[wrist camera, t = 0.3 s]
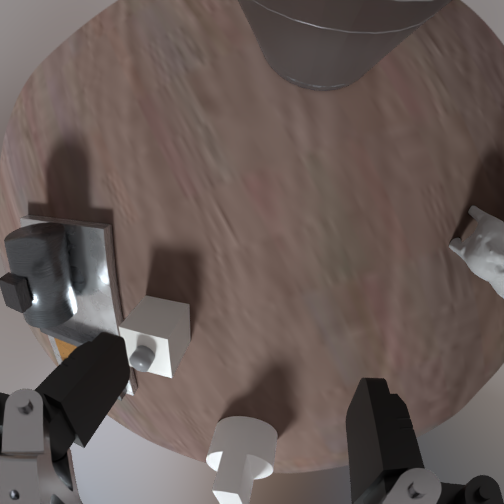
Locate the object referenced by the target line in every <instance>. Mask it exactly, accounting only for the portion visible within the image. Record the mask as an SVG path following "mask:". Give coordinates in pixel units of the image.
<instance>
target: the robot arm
mask: <svg viewBox="0 0 504 504" xmlns="http://www.w3.org/2000/svg"><path fill="white" fill-rule="evenodd" d="M451 1H452V0H238V2H239V4H240V6H241V8H242V10H243V12H244V14H245V16H246V18H247V20H248V22H249V24H250V26H251V28H252V30H253V32H254V35H255V37H256V39H257V41H258V43H259V46H260V48H261V50H262V52H263V54H264V57H265V59H266V60H267V62H268V63H269V65H270V66H271V68H272V69H273V70H274V71H275V72H277V73H278V74H279V75H280V76H281V77H282V78H284V79H286V80H287V81H289V82H290V83H292V84H295V85H297V86H299V87H302V88H306V89H311V90H319V91H329V90H336V89H340V88H343V87H346V86H349V85H350V84H352V83H354V82H355V81H357V80H358V79H360V78H361V77H362V76H363V75H364V74H365V73H366V72H367V71H369V70H370V69H371V68H372V67H373V66H375V65H376V64H377V63H378V62H379V61H380V60H381V59H382V58H384V57H385V56H386V55H387V54H388V53H389V52H390V51H392V50H393V49H394V48H395V47H396V46H397V45H399V44H400V43H401V42H402V41H403V40H405V39H406V38H407V37H408V36H409V35H410V34H412V33H413V32H414V31H415V30H416V29H418V28H419V27H420V26H421V25H423V24H424V23H425V22H426V21H427V20H429V19H430V18H431V17H432V16H434V14H436V13H437V12H438V11H439V10H441V9H442V8H443V7H444V6H446V5H447V4H448V3H450V2H451ZM129 378H130V366H129V361H128V356H127V350H126V344H125V340H124V338H123V337H121V336H118V335H114V334H111V333H107V332H101V333H100V334H99V335H98V336H97V337H96V338H95V339H94V340H93V341H92V342H90V341H88V342H86V343H84V344H82V345H80V346H78V347H76V348H75V349H74V350H73V351H72V352H71V353H70V354H69V355H68V358H67V357H66V358H65V359H64V361H63V362H62V363H61V365H59V366H58V367H57V368H56V369H55V370H54V371H53V372H52V373H51V374H50V375H49V376H48V377H47V378H46V379H45V380H44V381H43V382H42V383H41V384H40V385H39V386H38V387H37V388H36V389H35V390H31V389H20V390H17V391H15V392H14V393H12V394H11V395H8V394H4V393H0V504H83V503H82V501H81V499H80V496H79V493H78V489H77V484H76V479H75V473H74V468H73V462H72V455H71V450H70V446H71V445H72V443H73V442H74V443H76V444H78V445H80V446H81V447H84V448H85V446H86V445H87V443H88V442H89V440H90V439H91V437H92V436H93V434H94V433H95V431H96V430H97V428H98V427H99V425H100V424H101V422H102V421H103V419H104V418H105V416H106V415H107V413H108V412H109V410H110V409H111V408H112V406H113V405H114V403H115V402H116V400H117V399H118V397H119V396H120V394H121V393H122V391H123V390H124V389H125V387H126V386H127V384H128V381H129ZM346 432H347V443H348V454H349V466H350V482H351V499H352V500H351V501H352V504H504V503H503V499H502V495H501V492H500V488H499V485H498V483H497V482H496V481H495V480H494V479H493V478H491V477H489V476H485V475H480V476H477V477H475V478H473V479H472V480H470V481H469V482H468V483H467V484H466V485H460V484H450V483H442V482H440V480H439V479H438V477H437V476H436V475H435V474H434V473H433V472H431V471H430V470H427V469H425V468H424V465H423V461H422V457H421V453H420V450H419V446H418V443H417V439H416V435H415V432H414V429H413V425H412V422H411V419H410V416H409V412H408V409H407V406H406V404H405V403H404V402H403V400H402V399H401V398H400V397H399V396H398V394H390V392H389V388H388V385H387V382H386V380H385V379H384V378H362V379H361V380H360V382H359V385H358V387H357V389H356V392H355V394H354V396H353V399H352V401H351V403H350V406H349V408H348V411H347V415H346Z"/></svg>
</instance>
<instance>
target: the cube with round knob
mask: <svg viewBox="0 0 504 504" xmlns="http://www.w3.org/2000/svg"><path fill="white" fill-rule="evenodd" d="M119 331H120V336H121V337H123V338H124V340H125V344H126V350H127V356H128V361H129V366H131V367H134V368H135V369H136V370H138V371H141V372H146V371H148V372H151V373H155V374H158V375H162V376H166V377H169V378H173V376H174V374H175V372H176V370H177V368H178V366H179V364H180V362H181V360H182V358H183V356H184V354H185V352H186V350H187V348H188V346H189V344H190V342H191V338H190V307H189V304H186V303H181V302H176V301H171V300H166V299H161V298H156V297H151V296H145V297H144V298H143V299H142V300H141V301H140V302H139V304H138V305H137V306H136V307H135V308H134V309H133V311H132V312H131V313H130V314H129V315H128V316H127V318H126V319H125V320H124V321H123V322H122V323H121V325H120V326H119Z"/></svg>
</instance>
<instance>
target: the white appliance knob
mask: <svg viewBox="0 0 504 504" xmlns="http://www.w3.org/2000/svg"><path fill="white" fill-rule="evenodd" d="M277 437H278V434H277V431H276V430H275V429H274V428H273V426H271V425H270V424H268V423H267V422H264V421H262V420H260V419H256V418H252V417H245V416H232V417H227V418H224V419H222V420H220V421H219V422H218V423H217V425H216V428H215V431H214V435H213V438H212V441H211V445H210V448H209V451H208V454H207V458H206V461H207V464H208V465H209V466H210V467H211V468H212V469H214V470H215V471H217V474H216V478H215V482H214V485H213V489H212V491H213V493H214V495H215V496H216V498H217V499H218V501H219V502H220V504H249V501H250V496H251V491H252V485H253V480H254V479H261V478H265V477H267V476H269V475H270V474H272V473H273V467H274V460H275V452H276V445H277Z"/></svg>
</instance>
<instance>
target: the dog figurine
mask: <svg viewBox="0 0 504 504" xmlns="http://www.w3.org/2000/svg"><path fill="white" fill-rule="evenodd" d="M468 213H469V214H470V215H471V216H472V217H473V218H474V219H475V220H476V221H477V222H478V226H477V228H476V230H475V232H474V233H473V234H472V235H471V236H470V237H468V238H467V239H466V240H465V241H463V242H462V243H461V239H460V238H455V239H453V240H452V241H451V242H450V244H449V247H450V249H452V250H453V251H454V252H456V253H457V254H458V255H459V256H460V257H462V259H463V260H464V261H465V262H466V263H467V265H468V267H469V268H470V269H471V271H472V272H473V273H474V274H476V275H477V276H479V277H480V278H482V279H484V280H486V281H489V283H490V284H491V285H492V287H493V288H494V289H495V291H496V292H497V293H498V294H499V295H500V296H501V297H502V298H503V299H504V222H503V221H501V220H500V219H498V218H496V217H494V216H492V215H489V214H488V213H486V212H484V211H482V210H480V209H479V208H477V207H476V206H473V205H472V206H471V208H470V209H469V211H468Z"/></svg>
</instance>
